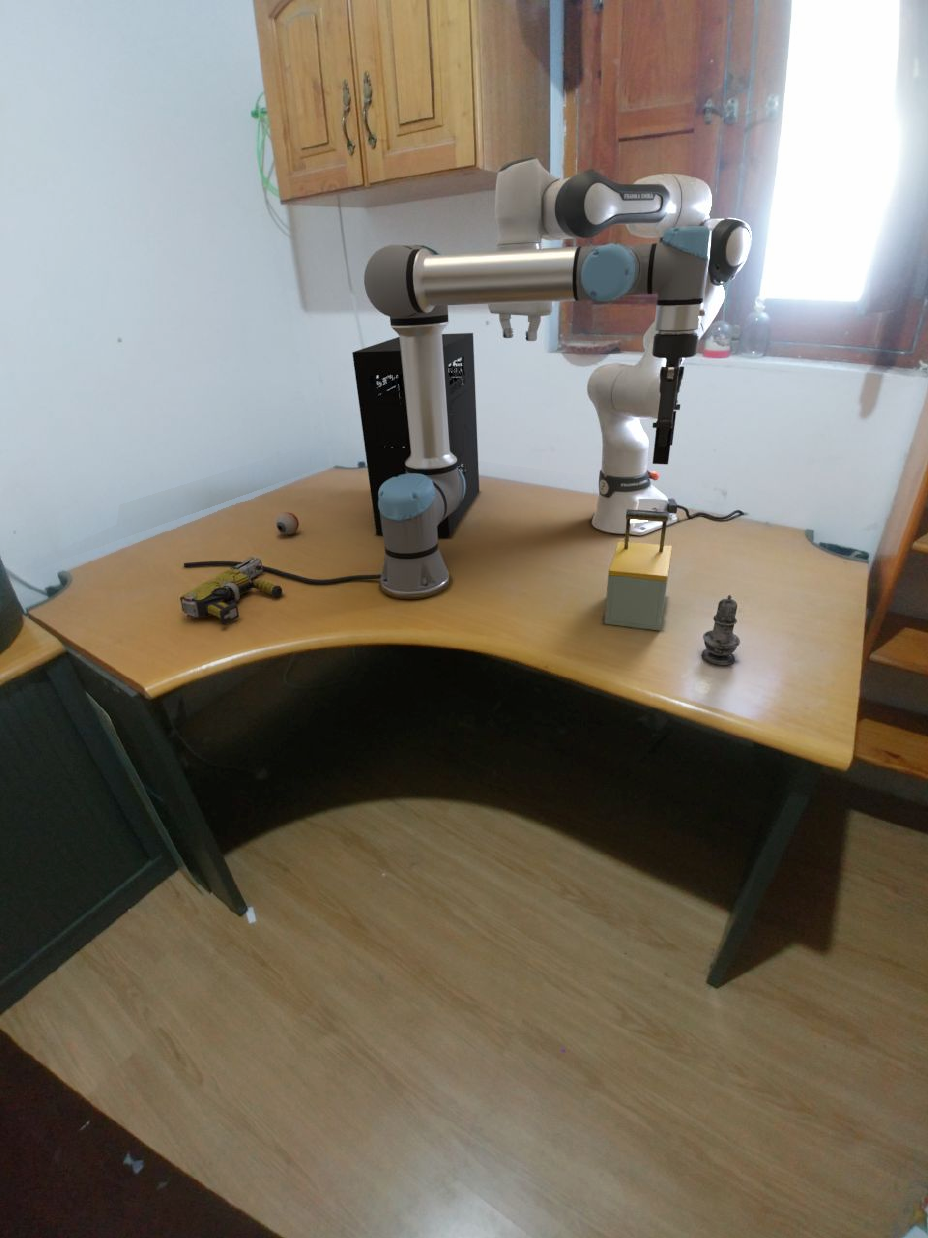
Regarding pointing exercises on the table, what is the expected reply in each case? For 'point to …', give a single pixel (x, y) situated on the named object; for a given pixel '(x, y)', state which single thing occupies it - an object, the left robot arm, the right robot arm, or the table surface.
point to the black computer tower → (390, 420)
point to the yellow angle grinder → (226, 592)
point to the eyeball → (287, 523)
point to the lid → (642, 551)
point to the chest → (635, 602)
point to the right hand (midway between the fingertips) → (519, 339)
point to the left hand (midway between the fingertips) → (662, 453)
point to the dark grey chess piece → (722, 635)
